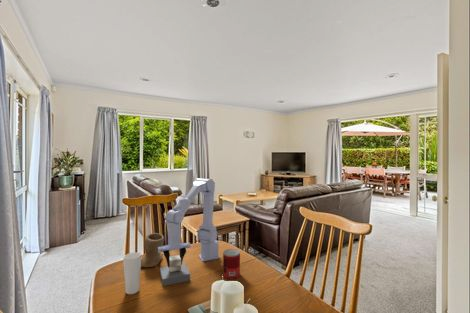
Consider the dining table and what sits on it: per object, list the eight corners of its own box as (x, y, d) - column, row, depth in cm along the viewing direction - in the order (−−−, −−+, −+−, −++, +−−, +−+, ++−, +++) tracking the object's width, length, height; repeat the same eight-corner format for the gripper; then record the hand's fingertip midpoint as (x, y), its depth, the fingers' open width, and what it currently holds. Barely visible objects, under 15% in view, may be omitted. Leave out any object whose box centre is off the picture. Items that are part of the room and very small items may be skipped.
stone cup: (160, 269, 119) (160, 239, 119) (136, 269, 118) (136, 239, 118) (168, 256, 134) (168, 229, 134) (147, 256, 134) (146, 229, 134)
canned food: (243, 274, 113) (243, 251, 113) (231, 281, 107) (231, 256, 107) (231, 269, 118) (231, 247, 118) (219, 275, 112) (219, 252, 112)
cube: (179, 265, 114) (179, 254, 114) (181, 269, 110) (181, 259, 109) (168, 267, 112) (168, 256, 112) (169, 272, 108) (169, 261, 108)
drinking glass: (130, 298, 95) (130, 260, 94) (120, 292, 98) (119, 256, 98) (144, 289, 100) (144, 254, 100) (134, 285, 104) (134, 250, 104)
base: (184, 268, 119) (184, 262, 119) (190, 280, 108) (190, 273, 108) (159, 273, 114) (159, 267, 114) (162, 286, 103) (162, 279, 103)
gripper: (159, 241, 104) (159, 272, 104) (191, 236, 110) (191, 266, 110) (157, 236, 111) (157, 265, 111) (188, 232, 116) (188, 259, 117)
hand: (174, 265), depth 111 cm, fingers closed on cube, 5 cm apart
